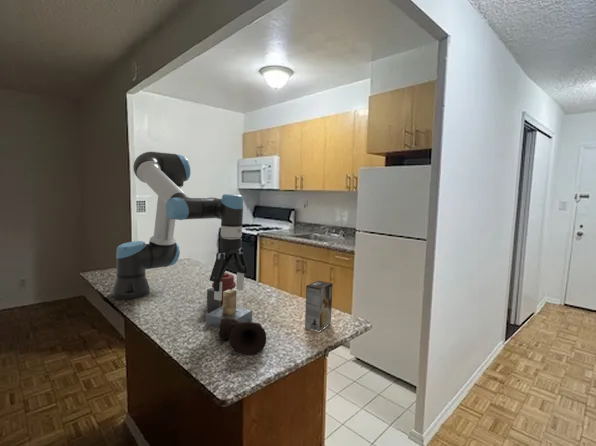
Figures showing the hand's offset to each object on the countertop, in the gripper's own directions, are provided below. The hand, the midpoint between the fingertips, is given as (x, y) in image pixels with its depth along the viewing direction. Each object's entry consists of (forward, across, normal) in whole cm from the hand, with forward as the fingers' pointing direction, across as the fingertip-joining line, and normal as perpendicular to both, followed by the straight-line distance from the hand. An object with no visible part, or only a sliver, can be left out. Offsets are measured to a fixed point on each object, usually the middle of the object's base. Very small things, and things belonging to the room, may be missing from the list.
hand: (229, 294), depth 123 cm
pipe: (+11, -12, -14) cm, 21 cm away
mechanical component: (+11, +18, +15) cm, 26 cm away
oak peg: (+11, 0, -1) cm, 11 cm away
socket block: (+11, 0, -1) cm, 11 cm away
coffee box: (+10, +13, -31) cm, 35 cm away
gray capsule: (+11, +6, +11) cm, 17 cm away
